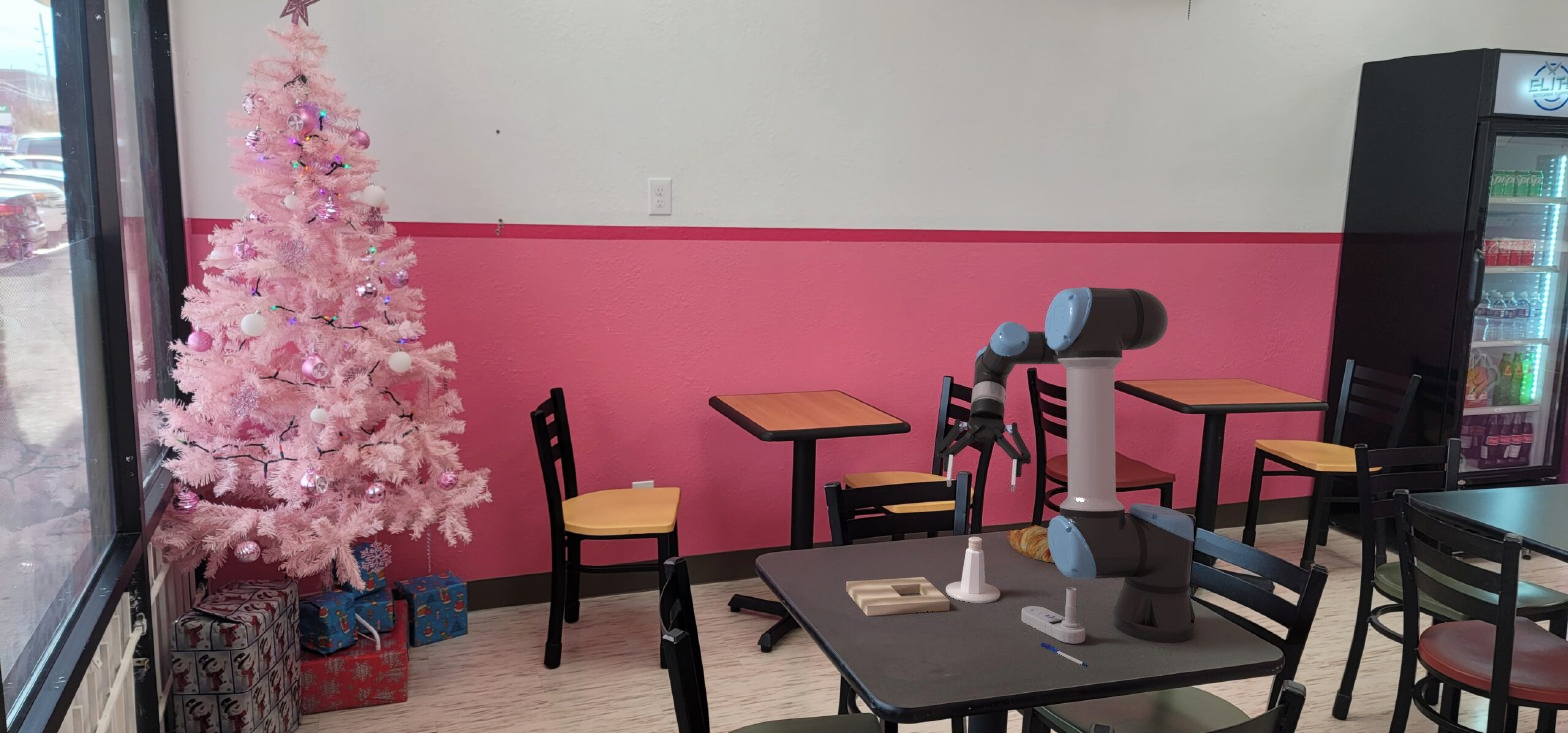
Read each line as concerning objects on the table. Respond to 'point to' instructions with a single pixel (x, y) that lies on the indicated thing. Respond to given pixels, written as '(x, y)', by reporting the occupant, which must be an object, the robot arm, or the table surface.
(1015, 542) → the croissant
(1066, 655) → the ballpoint pen
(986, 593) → the saucer
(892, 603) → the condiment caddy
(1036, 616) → the electronic device
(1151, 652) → the table surface
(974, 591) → the pepper shaker
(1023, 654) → the table surface
